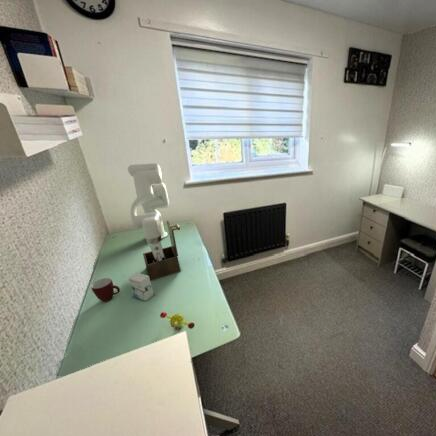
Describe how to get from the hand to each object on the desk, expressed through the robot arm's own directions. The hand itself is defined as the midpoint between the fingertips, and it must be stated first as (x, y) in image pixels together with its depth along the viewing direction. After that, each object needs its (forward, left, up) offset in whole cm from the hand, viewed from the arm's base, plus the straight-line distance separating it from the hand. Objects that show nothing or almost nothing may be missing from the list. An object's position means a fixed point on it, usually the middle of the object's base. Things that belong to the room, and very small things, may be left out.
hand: (160, 265), depth 139 cm
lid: (0, +9, +15) cm, 18 cm away
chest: (0, +1, -3) cm, 4 cm away
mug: (+12, -25, -4) cm, 28 cm away
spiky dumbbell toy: (+50, -1, -4) cm, 50 cm away
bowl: (0, 0, -1) cm, 1 cm away
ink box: (+19, -11, -4) cm, 22 cm away
